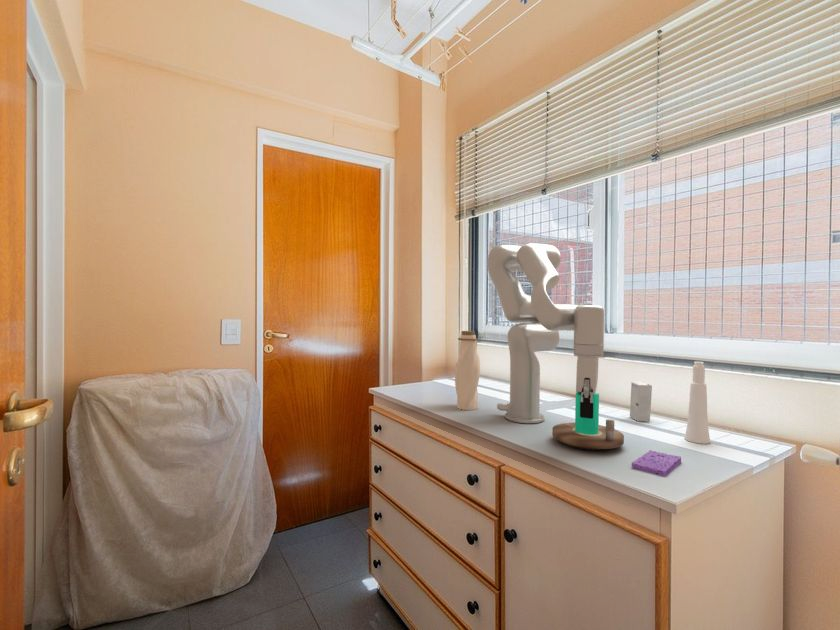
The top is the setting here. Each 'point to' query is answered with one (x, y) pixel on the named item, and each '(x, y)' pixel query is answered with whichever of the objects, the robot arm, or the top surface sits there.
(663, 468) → the sponges
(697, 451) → the top surface
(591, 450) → the turntable base
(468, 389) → the water bottle
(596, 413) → the candle
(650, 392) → the skincare box
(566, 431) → the turntable
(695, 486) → the top surface
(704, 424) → the cosmetic bottle
